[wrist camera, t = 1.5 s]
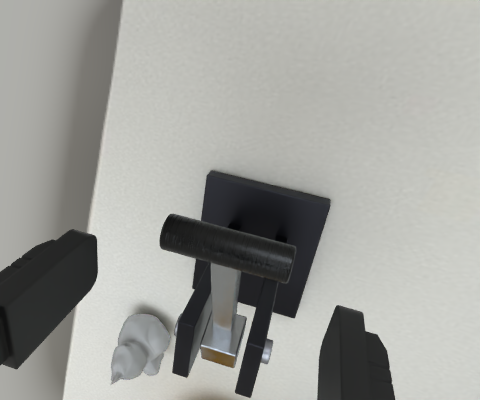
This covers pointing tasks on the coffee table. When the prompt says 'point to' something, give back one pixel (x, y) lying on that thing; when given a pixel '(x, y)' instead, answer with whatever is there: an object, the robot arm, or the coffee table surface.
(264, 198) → the lever base
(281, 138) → the coffee table surface
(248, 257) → the t-handle lever
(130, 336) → the grey swirled lump
